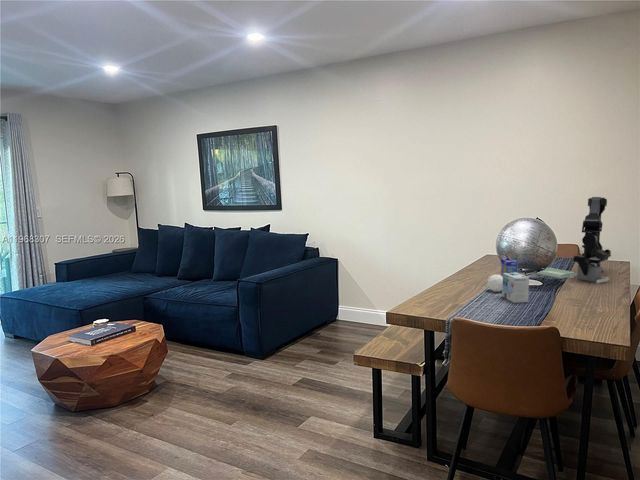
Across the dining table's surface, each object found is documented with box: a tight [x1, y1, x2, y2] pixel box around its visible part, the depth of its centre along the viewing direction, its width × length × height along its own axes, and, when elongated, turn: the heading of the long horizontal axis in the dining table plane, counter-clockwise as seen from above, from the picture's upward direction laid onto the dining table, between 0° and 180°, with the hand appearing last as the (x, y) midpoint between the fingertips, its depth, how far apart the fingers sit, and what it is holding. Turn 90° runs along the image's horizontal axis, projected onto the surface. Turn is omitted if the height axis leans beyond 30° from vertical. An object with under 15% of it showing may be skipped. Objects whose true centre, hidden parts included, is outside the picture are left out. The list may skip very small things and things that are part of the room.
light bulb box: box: [501, 272, 530, 304], centre depth 199 cm, size 11×7×11 cm, turn 5°
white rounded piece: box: [487, 274, 503, 293], centre depth 212 cm, size 8×8×12 cm
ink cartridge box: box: [500, 254, 519, 277], centre depth 225 cm, size 10×6×14 cm, turn 174°
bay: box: [569, 273, 610, 284], centre depth 232 cm, size 10×14×2 cm
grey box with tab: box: [576, 263, 603, 283], centre depth 231 cm, size 5×9×9 cm, turn 28°
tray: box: [534, 267, 576, 280], centre depth 244 cm, size 11×15×2 cm
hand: (589, 274), depth 231 cm, fingers open, 6 cm apart
